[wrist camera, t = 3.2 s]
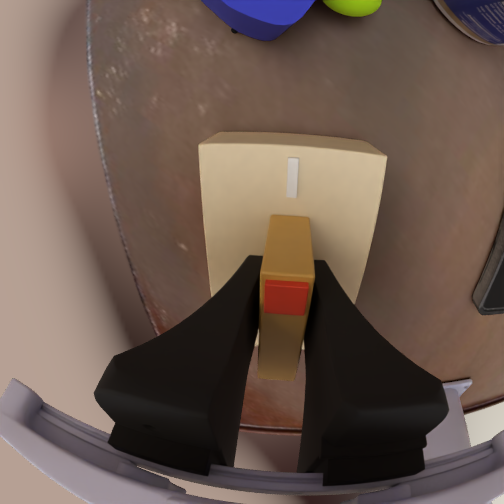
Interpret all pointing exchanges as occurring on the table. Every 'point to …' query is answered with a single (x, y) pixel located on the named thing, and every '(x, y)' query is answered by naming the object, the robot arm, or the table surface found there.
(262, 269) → the thumb turn
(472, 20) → the pill bottle
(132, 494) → the robot arm
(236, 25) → the toy
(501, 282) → the phone
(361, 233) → the plate
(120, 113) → the table surface
